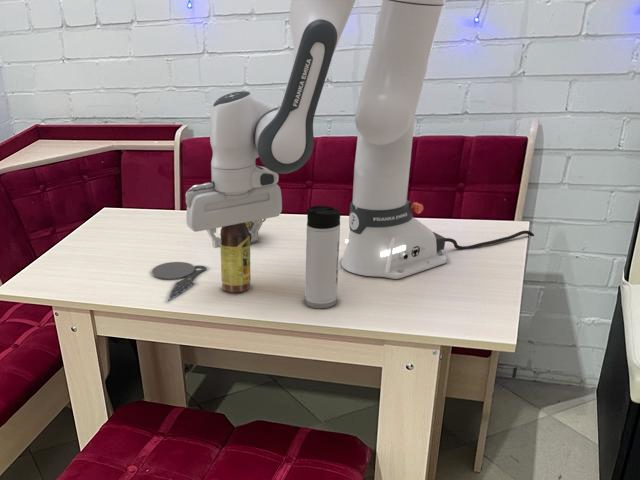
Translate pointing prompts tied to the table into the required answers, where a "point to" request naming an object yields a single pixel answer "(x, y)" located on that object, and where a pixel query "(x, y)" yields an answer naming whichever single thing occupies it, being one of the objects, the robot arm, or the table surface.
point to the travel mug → (322, 256)
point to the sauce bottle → (235, 258)
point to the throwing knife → (185, 283)
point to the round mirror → (173, 270)
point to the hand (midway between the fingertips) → (234, 243)
